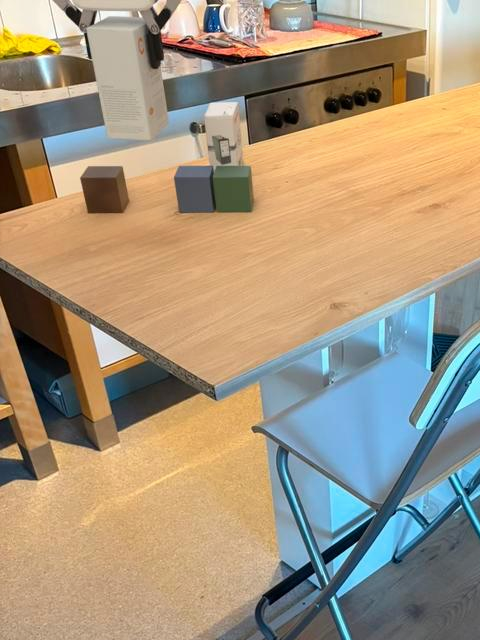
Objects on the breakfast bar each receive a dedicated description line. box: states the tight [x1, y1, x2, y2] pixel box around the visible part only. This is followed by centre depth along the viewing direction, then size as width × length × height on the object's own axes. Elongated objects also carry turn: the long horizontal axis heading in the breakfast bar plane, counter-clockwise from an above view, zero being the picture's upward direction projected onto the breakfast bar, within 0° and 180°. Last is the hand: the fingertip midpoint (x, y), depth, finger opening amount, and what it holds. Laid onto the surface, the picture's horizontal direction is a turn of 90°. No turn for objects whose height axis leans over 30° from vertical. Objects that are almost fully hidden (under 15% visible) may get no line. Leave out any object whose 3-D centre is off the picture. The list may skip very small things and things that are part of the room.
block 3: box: [213, 165, 255, 213], centre depth 130 cm, size 6×6×6 cm
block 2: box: [173, 165, 216, 213], centre depth 130 cm, size 6×6×6 cm
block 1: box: [79, 165, 130, 214], centre depth 129 cm, size 6×6×6 cm
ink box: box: [203, 101, 245, 172], centre depth 137 cm, size 9×5×12 cm, turn 3°
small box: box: [86, 15, 170, 141], centre depth 107 cm, size 8×6×13 cm
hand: (127, 65), depth 106 cm, fingers closed on small box, 6 cm apart
